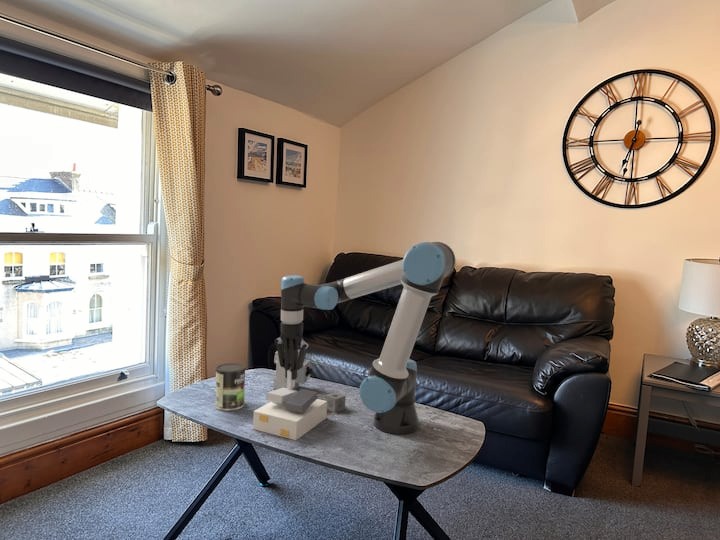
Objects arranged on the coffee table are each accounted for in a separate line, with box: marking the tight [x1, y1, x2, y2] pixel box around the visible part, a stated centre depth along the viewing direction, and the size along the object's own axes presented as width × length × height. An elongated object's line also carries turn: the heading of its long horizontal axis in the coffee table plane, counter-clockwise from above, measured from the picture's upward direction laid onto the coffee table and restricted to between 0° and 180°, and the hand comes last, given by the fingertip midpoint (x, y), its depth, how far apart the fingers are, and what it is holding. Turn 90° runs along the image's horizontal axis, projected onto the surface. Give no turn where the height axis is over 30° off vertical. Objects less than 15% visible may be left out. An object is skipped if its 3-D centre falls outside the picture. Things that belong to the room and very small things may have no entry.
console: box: [252, 398, 328, 441], centre depth 164 cm, size 16×20×7 cm
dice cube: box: [325, 391, 347, 413], centre depth 179 cm, size 5×5×5 cm
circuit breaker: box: [272, 349, 314, 390], centre depth 197 cm, size 8×14×15 cm, turn 78°
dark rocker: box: [285, 388, 318, 413], centre depth 161 cm, size 6×10×2 cm, turn 156°
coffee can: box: [214, 362, 246, 412], centre depth 176 cm, size 10×10×14 cm
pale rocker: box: [265, 388, 298, 403], centre depth 165 cm, size 6×10×2 cm, turn 156°
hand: (290, 387), depth 170 cm, fingers closed
